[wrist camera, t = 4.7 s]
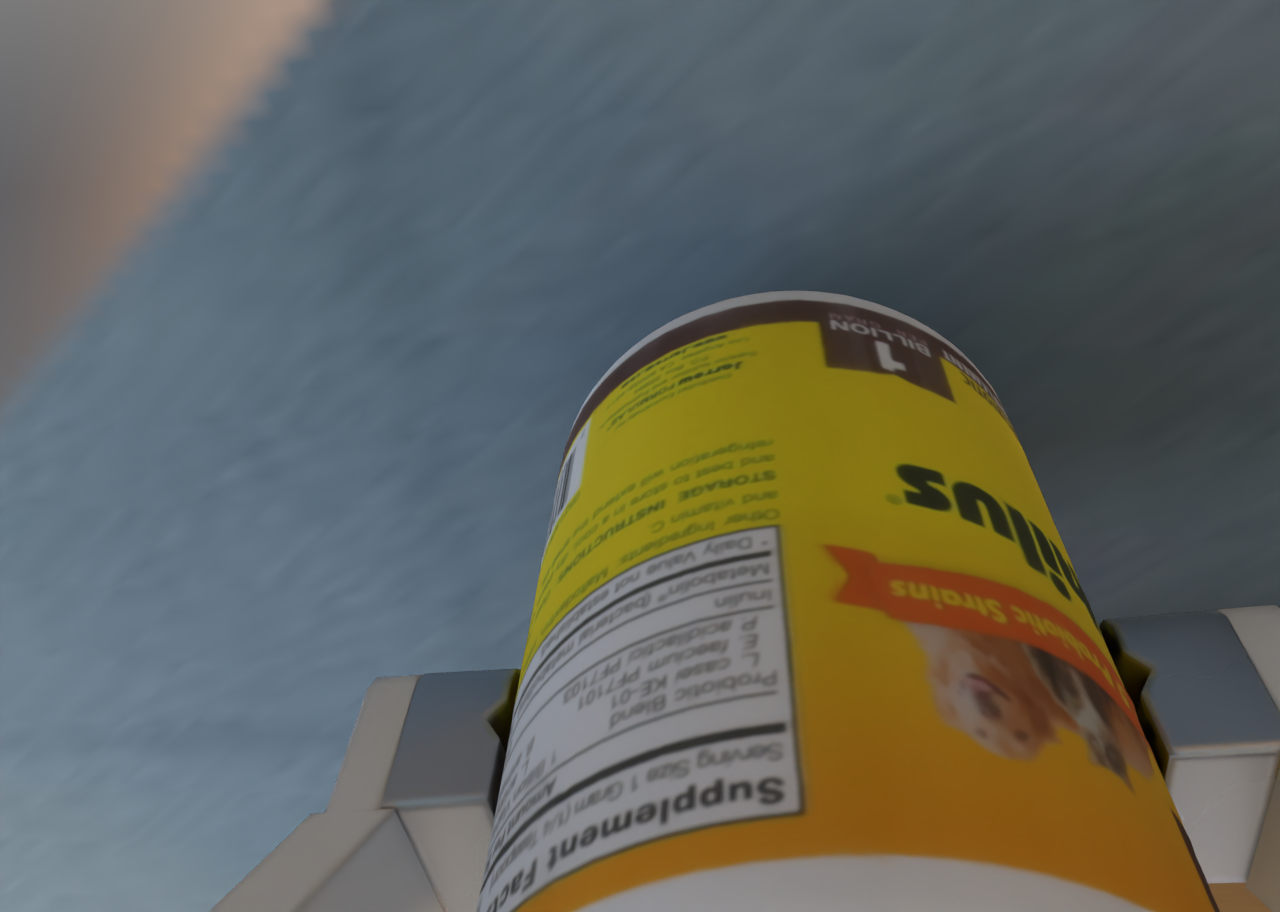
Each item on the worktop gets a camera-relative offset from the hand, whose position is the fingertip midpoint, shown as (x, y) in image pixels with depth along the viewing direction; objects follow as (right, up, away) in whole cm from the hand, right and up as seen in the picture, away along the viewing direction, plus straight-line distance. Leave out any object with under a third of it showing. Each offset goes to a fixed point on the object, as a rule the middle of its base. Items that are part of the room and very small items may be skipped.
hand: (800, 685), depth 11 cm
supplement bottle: (0, +2, +3) cm, 4 cm away
